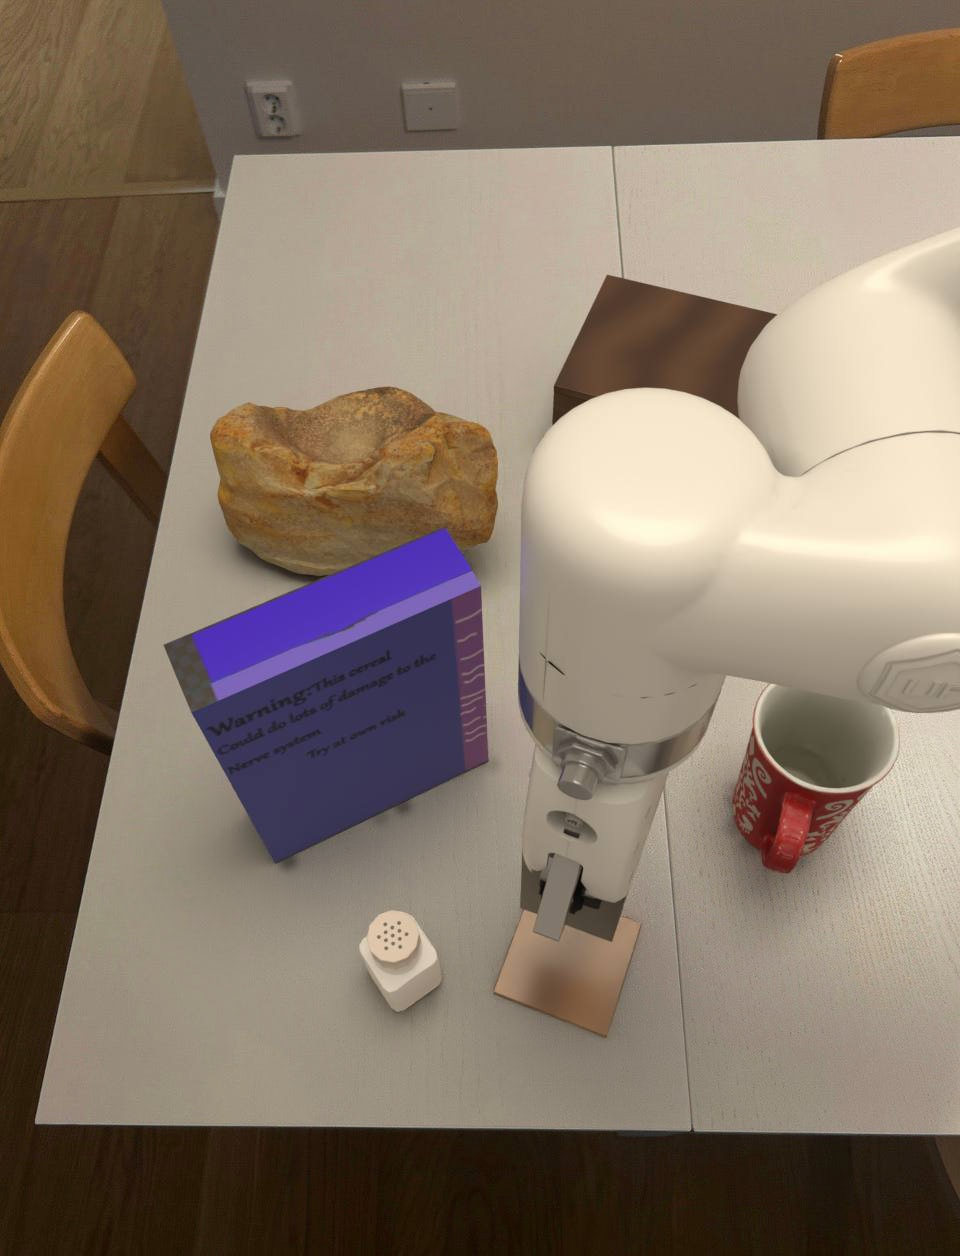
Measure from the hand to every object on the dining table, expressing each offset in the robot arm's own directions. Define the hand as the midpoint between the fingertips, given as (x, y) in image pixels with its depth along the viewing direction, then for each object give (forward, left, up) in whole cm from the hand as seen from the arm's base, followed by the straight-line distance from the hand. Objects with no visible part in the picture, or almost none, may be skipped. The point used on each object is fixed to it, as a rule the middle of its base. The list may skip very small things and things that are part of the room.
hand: (587, 846), depth 55 cm
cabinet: (+8, -49, -21) cm, 54 cm away
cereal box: (+18, -7, -21) cm, 28 cm away
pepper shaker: (+10, +5, -21) cm, 24 cm away
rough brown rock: (+28, -31, -21) cm, 47 cm away
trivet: (0, 0, -21) cm, 21 cm away
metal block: (0, 0, -7) cm, 7 cm away
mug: (-11, -14, -21) cm, 27 cm away
